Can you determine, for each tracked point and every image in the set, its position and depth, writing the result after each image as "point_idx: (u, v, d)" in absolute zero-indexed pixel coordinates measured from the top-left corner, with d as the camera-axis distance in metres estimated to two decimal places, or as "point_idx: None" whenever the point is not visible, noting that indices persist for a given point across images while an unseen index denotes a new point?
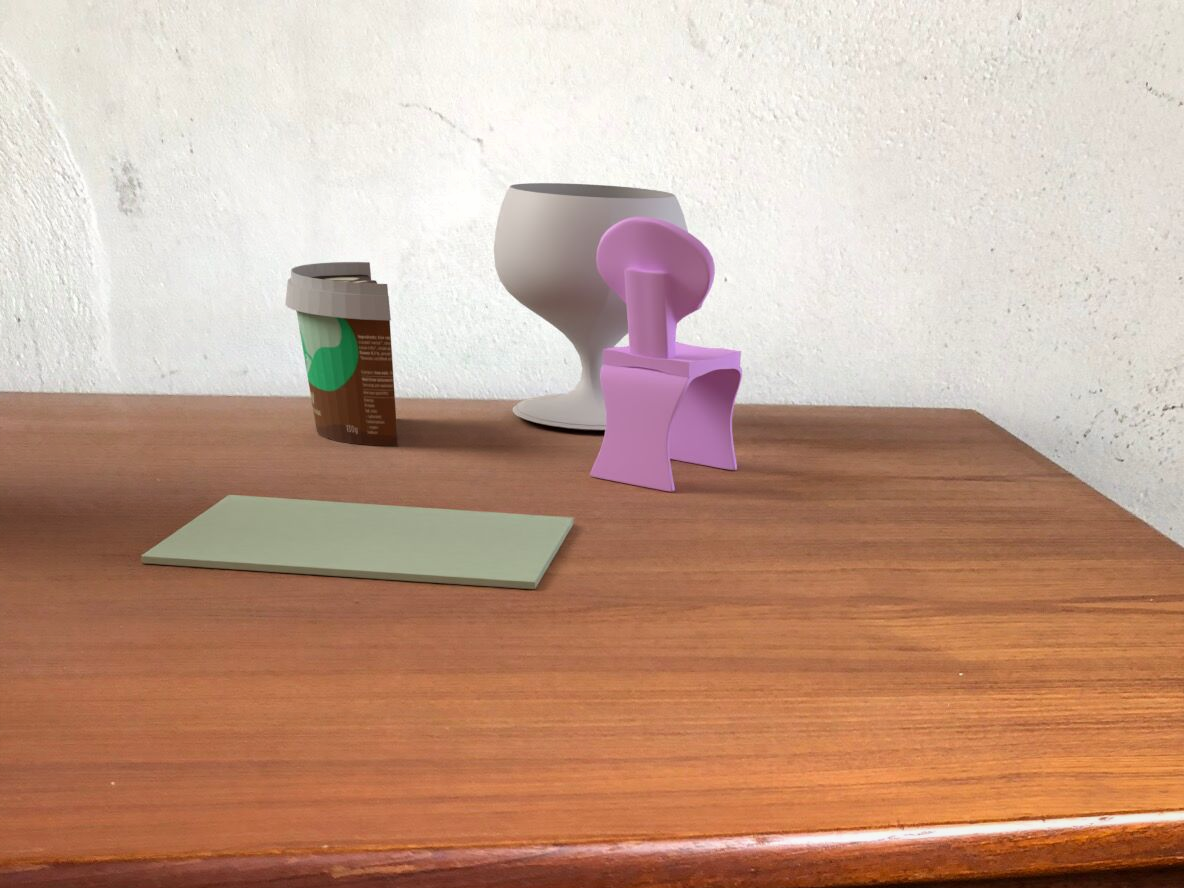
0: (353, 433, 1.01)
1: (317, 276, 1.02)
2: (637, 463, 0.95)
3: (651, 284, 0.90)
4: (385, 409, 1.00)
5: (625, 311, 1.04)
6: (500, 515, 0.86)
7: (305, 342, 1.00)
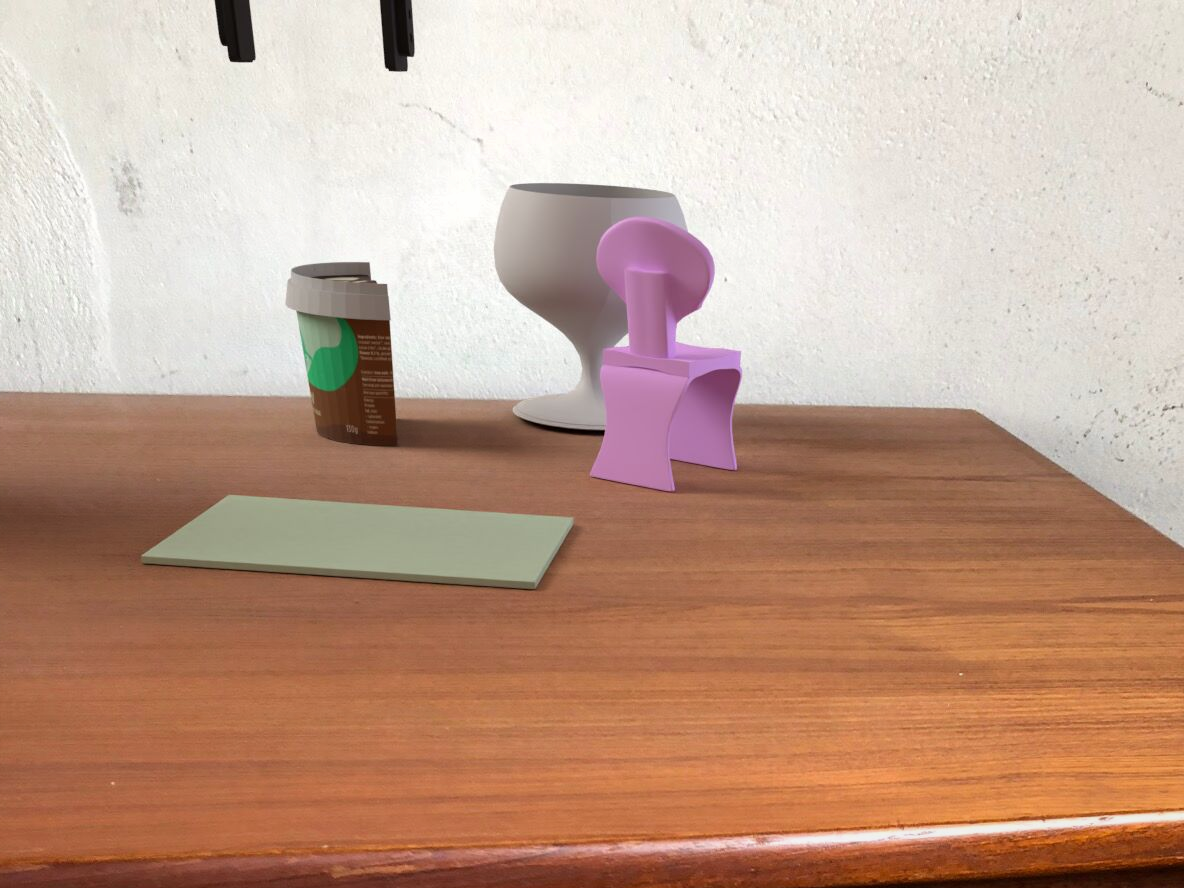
0: (353, 433, 1.01)
1: (317, 276, 1.02)
2: (637, 463, 0.95)
3: (651, 284, 0.90)
4: (385, 409, 1.00)
5: (625, 311, 1.04)
6: (500, 515, 0.86)
7: (305, 342, 1.00)
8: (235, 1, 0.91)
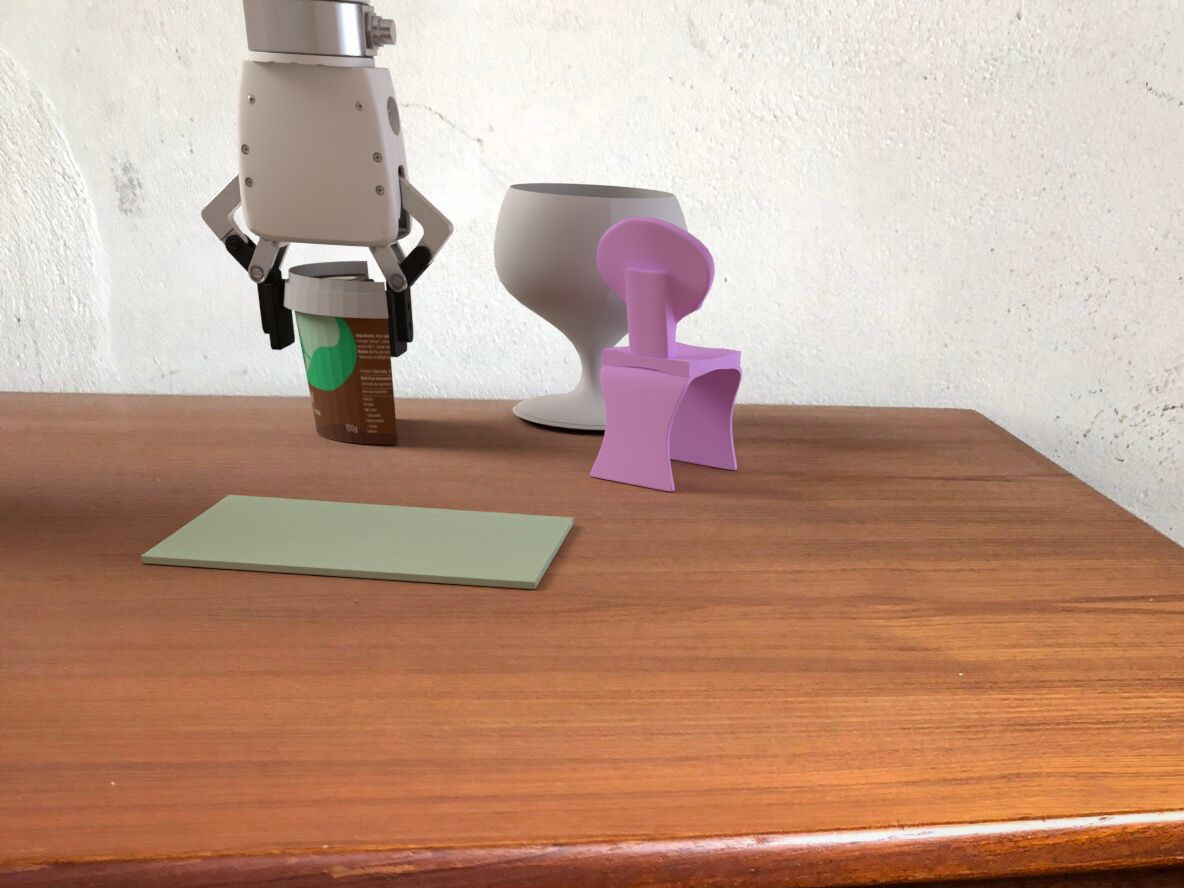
0: (353, 432, 1.01)
1: (315, 276, 1.02)
2: (637, 463, 0.95)
3: (651, 284, 0.91)
4: (384, 408, 1.00)
5: (625, 311, 1.04)
6: (500, 515, 0.86)
7: (303, 342, 1.00)
8: (277, 298, 0.99)
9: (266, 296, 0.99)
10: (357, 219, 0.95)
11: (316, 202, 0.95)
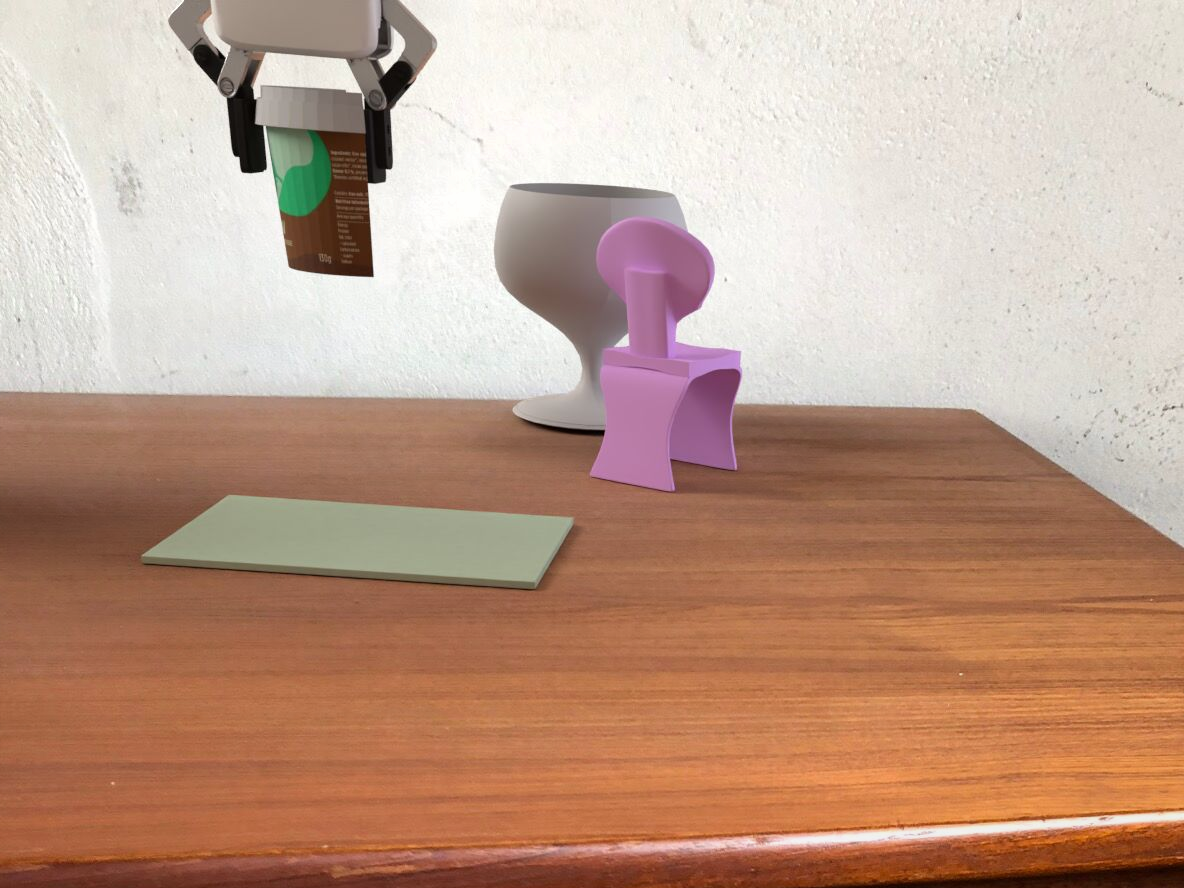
0: (326, 263, 0.95)
1: None
2: (637, 463, 0.95)
3: (651, 284, 0.90)
4: (360, 236, 0.94)
5: (625, 311, 1.04)
6: (500, 515, 0.86)
7: (275, 163, 0.94)
8: (248, 116, 0.93)
9: (236, 112, 0.93)
10: (334, 26, 0.90)
11: (291, 6, 0.89)
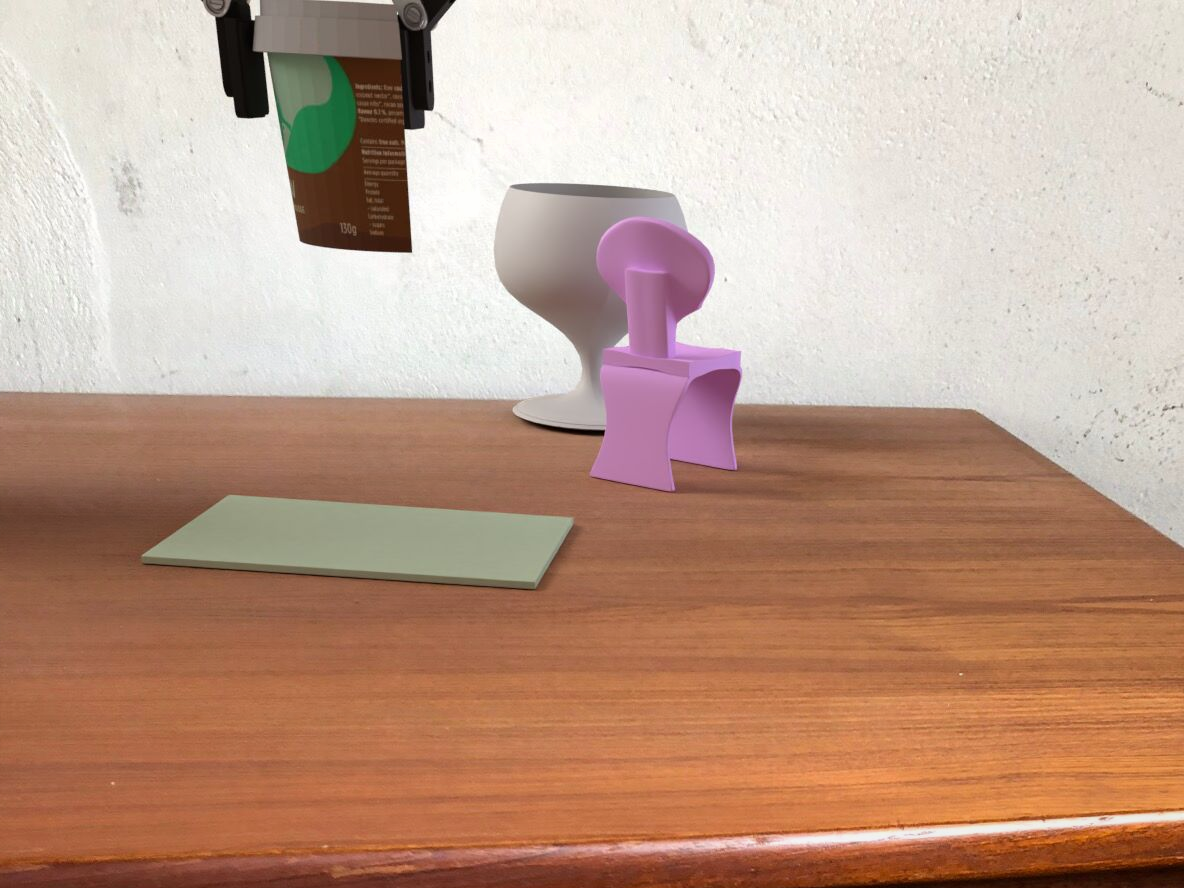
0: (350, 235, 0.72)
1: None
2: (637, 463, 0.95)
3: (651, 284, 0.90)
4: (394, 198, 0.72)
5: (625, 311, 1.04)
6: (500, 515, 0.86)
7: (281, 104, 0.71)
8: (244, 41, 0.71)
9: (228, 36, 0.70)
10: None
11: None
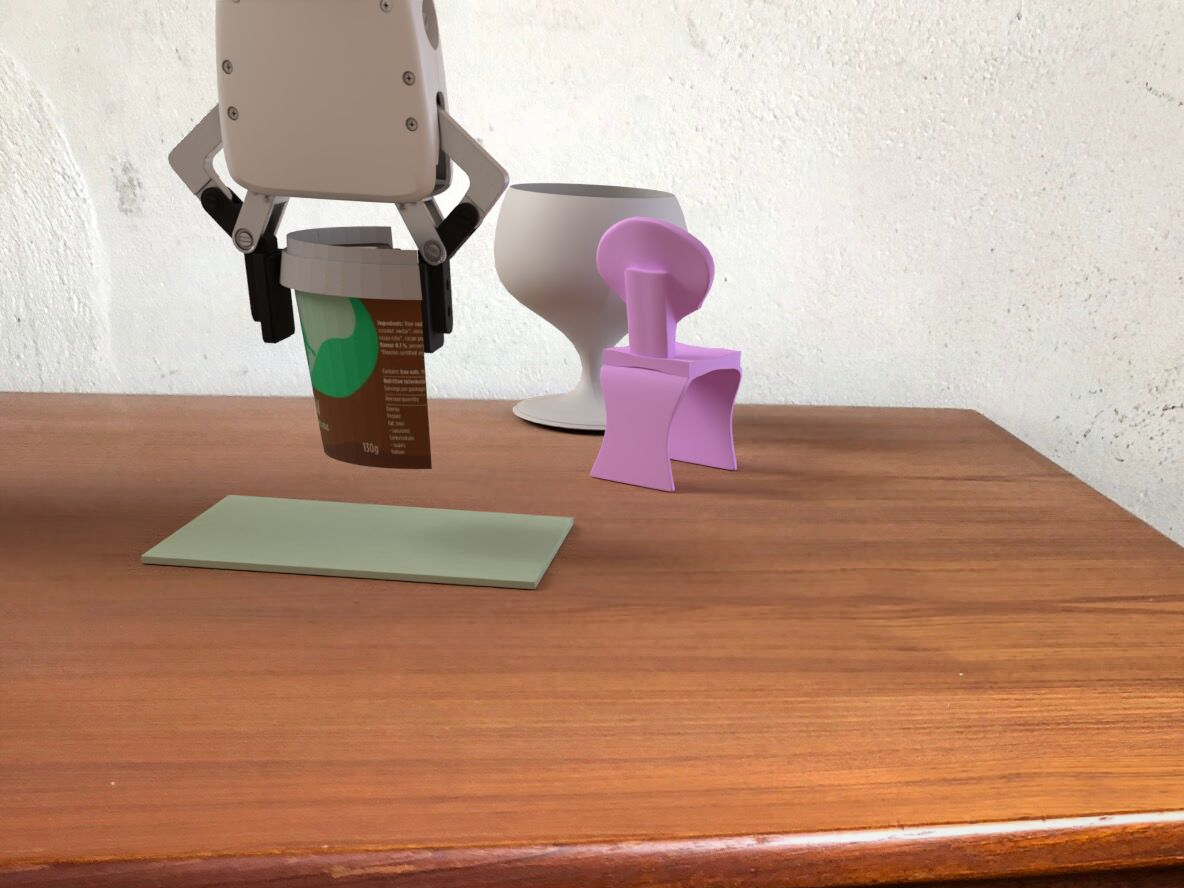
0: (372, 453, 0.76)
1: (322, 245, 0.77)
2: (637, 463, 0.95)
3: (651, 284, 0.90)
4: (414, 421, 0.74)
5: (625, 311, 1.04)
6: (500, 515, 0.86)
7: (307, 332, 0.74)
8: (272, 274, 0.74)
9: (256, 271, 0.73)
10: (380, 165, 0.70)
11: (324, 141, 0.69)
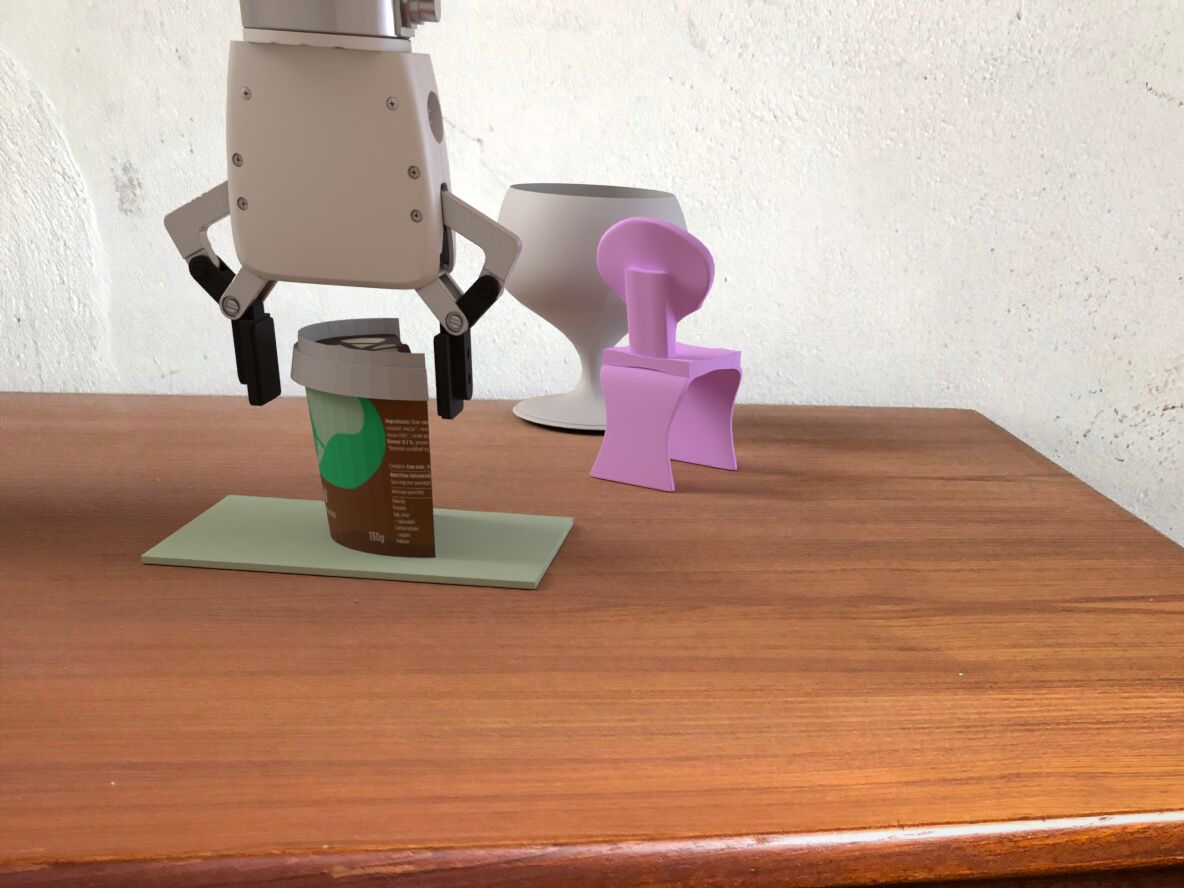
0: (378, 542, 0.78)
1: (331, 337, 0.79)
2: (637, 463, 0.95)
3: (651, 284, 0.90)
4: (419, 512, 0.77)
5: (625, 311, 1.04)
6: (500, 515, 0.86)
7: (316, 425, 0.76)
8: (258, 339, 0.75)
9: (243, 336, 0.75)
10: (385, 254, 0.72)
11: (331, 231, 0.71)
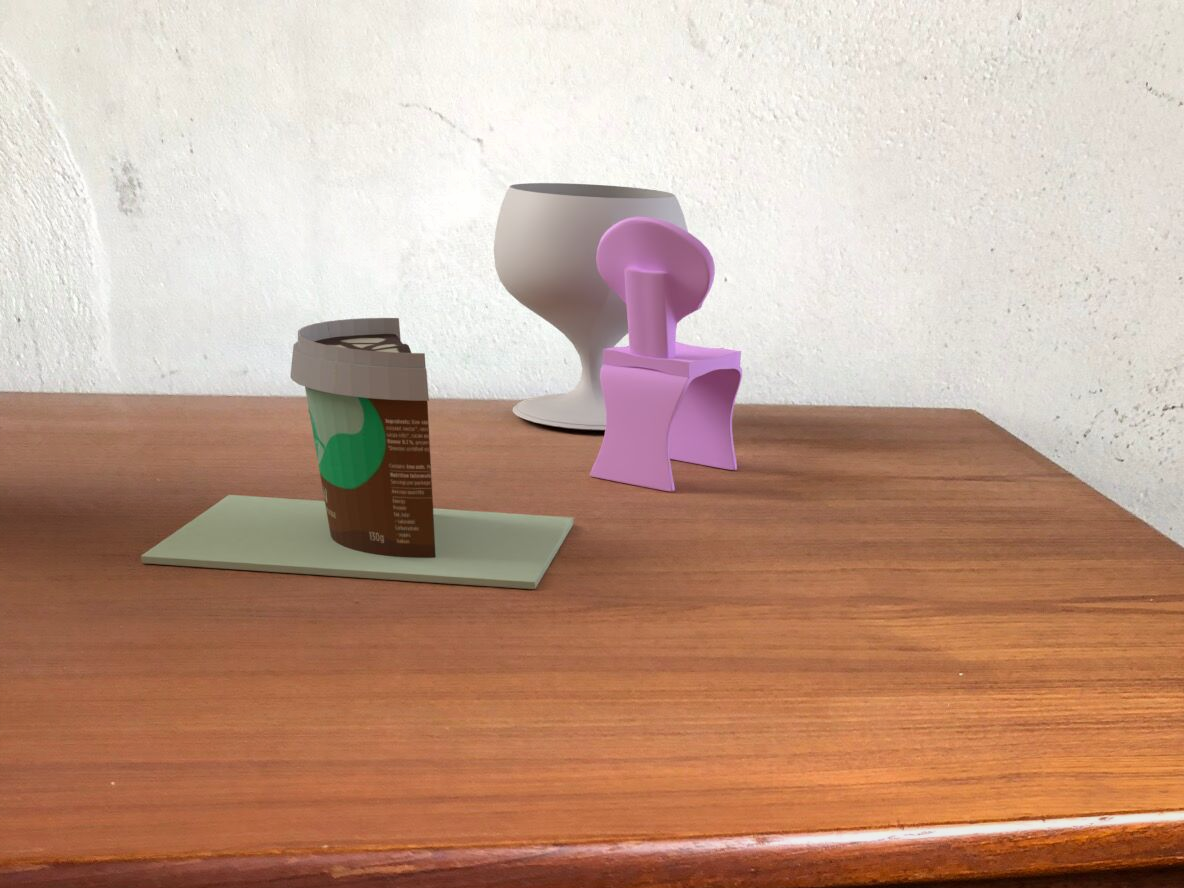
0: (378, 542, 0.78)
1: (331, 337, 0.79)
2: (637, 463, 0.95)
3: (651, 284, 0.90)
4: (419, 512, 0.77)
5: (625, 311, 1.04)
6: (500, 515, 0.86)
7: (316, 425, 0.76)
8: None
9: None
10: None
11: None
